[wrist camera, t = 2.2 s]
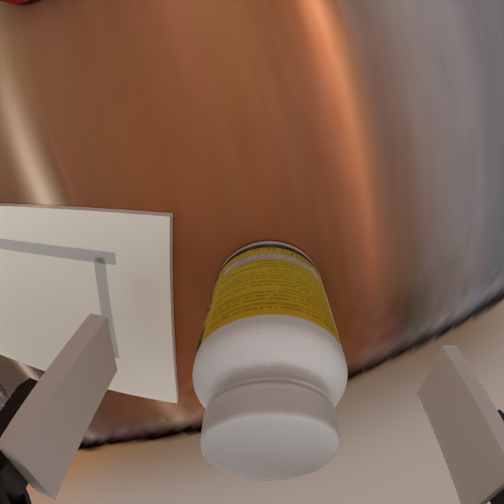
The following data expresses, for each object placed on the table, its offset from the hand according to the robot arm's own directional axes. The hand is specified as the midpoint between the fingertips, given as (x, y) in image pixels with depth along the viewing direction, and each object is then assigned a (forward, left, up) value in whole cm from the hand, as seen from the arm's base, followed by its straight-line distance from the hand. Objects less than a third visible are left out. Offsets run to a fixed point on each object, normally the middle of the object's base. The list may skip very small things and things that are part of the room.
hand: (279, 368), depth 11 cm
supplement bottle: (0, 0, -6) cm, 6 cm away
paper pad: (-15, -3, -6) cm, 17 cm away
